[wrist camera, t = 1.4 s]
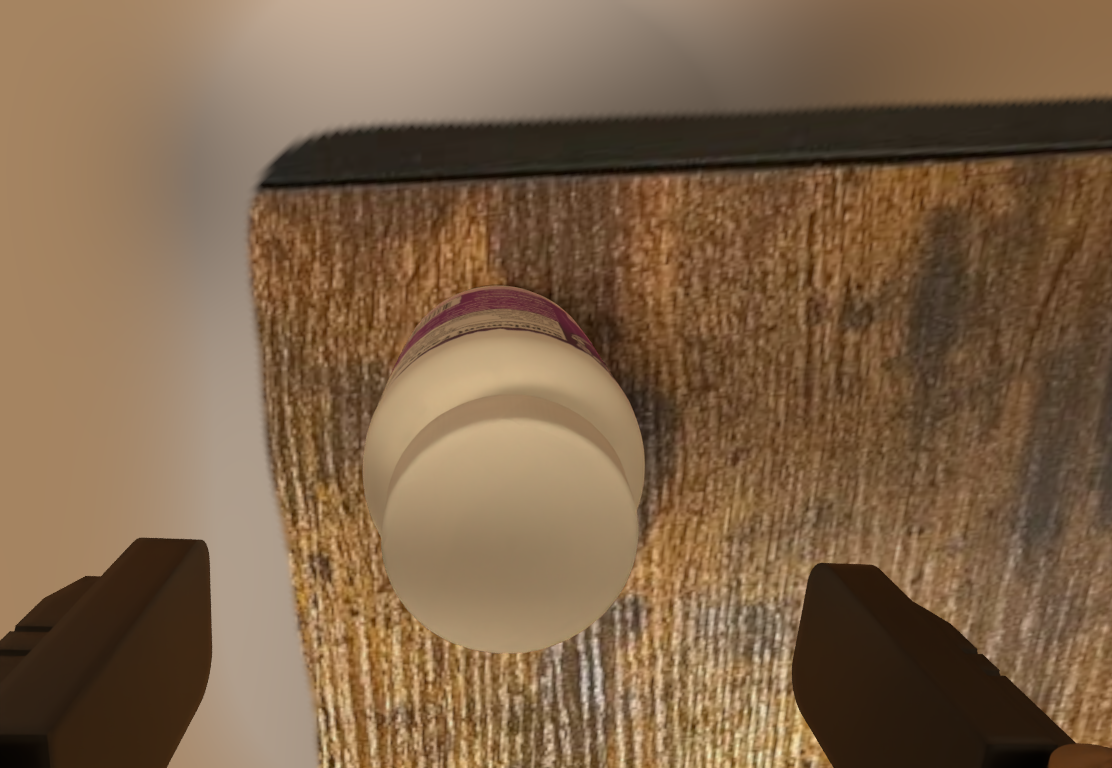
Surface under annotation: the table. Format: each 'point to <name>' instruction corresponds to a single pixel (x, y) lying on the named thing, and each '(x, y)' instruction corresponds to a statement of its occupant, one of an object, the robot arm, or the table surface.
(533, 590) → the pill bottle
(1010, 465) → the table surface
